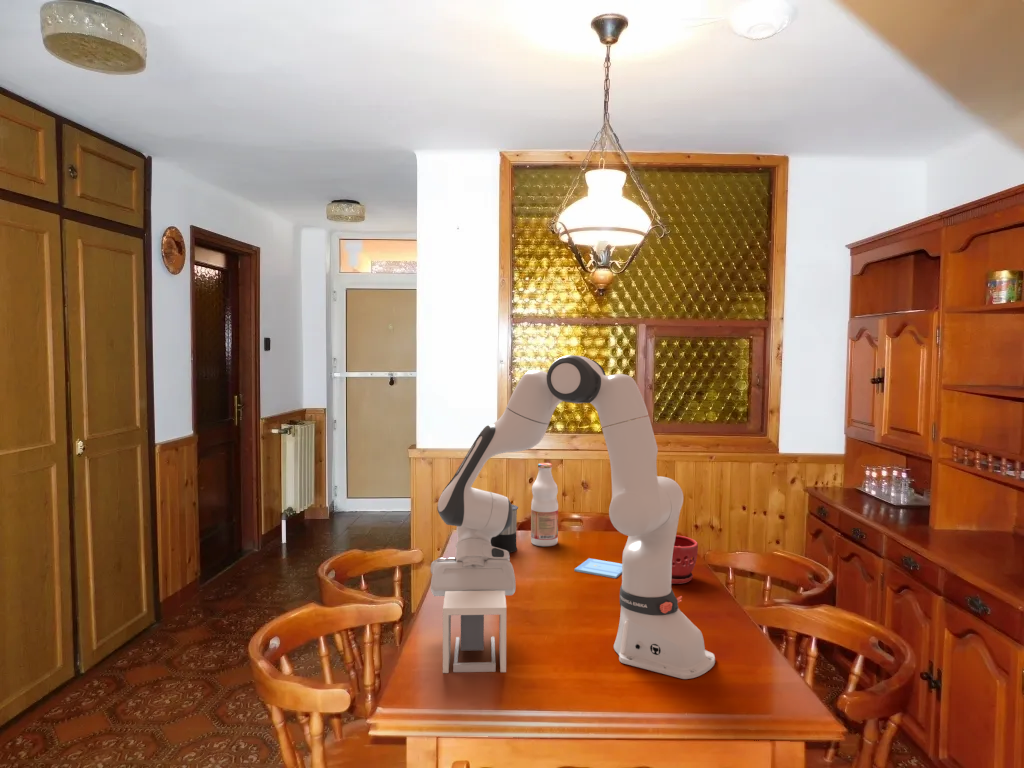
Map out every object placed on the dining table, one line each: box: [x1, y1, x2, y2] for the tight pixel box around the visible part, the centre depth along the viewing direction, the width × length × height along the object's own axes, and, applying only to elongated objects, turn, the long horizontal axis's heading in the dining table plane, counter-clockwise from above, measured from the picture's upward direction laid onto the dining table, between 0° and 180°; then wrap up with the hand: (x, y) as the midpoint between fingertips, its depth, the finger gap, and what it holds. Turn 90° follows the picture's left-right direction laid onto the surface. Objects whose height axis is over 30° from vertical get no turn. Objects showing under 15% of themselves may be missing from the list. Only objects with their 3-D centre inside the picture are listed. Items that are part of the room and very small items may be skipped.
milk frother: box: [491, 503, 519, 554], centre depth 229 cm, size 14×16×15 cm
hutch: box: [442, 591, 507, 674], centre depth 153 cm, size 16×13×14 cm
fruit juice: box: [530, 462, 559, 547], centre depth 240 cm, size 9×9×28 cm
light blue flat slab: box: [574, 557, 622, 579], centre depth 213 cm, size 14×12×1 cm
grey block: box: [460, 615, 485, 651], centre depth 155 cm, size 13×5×8 cm, turn 2°
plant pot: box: [671, 534, 699, 585], centre depth 204 cm, size 13×13×12 cm
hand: (473, 612), depth 159 cm, fingers closed on grey block, 5 cm apart
